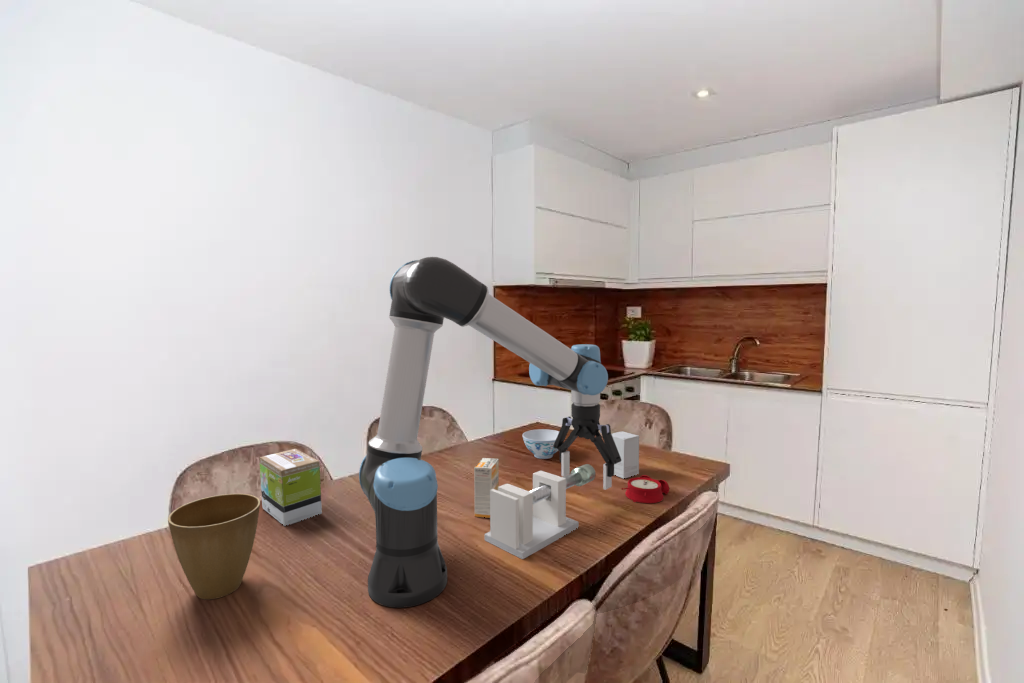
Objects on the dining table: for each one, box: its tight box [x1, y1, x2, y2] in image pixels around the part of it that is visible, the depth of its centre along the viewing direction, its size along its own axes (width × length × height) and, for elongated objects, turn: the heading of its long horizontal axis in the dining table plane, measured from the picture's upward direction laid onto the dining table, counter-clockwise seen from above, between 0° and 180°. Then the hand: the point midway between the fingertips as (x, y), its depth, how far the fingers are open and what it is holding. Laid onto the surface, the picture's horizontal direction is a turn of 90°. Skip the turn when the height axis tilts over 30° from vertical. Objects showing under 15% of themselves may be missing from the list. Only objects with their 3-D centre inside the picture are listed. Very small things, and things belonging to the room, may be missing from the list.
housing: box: [484, 470, 580, 560], centre depth 113 cm, size 20×12×12 cm, turn 136°
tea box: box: [258, 448, 323, 527], centre depth 126 cm, size 15×10×15 cm, turn 47°
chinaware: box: [522, 428, 560, 460], centre depth 171 cm, size 15×15×8 cm
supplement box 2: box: [611, 430, 640, 479], centre depth 153 cm, size 7×7×13 cm
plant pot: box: [167, 493, 261, 600], centre depth 92 cm, size 15×15×16 cm
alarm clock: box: [621, 474, 670, 504], centre depth 136 cm, size 10×6×15 cm
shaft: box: [528, 463, 597, 504], centre depth 121 cm, size 23×5×5 cm, turn 136°
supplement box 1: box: [473, 457, 500, 519], centre depth 126 cm, size 8×5×13 cm, turn 168°
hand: (585, 481), depth 128 cm, fingers open, 13 cm apart
